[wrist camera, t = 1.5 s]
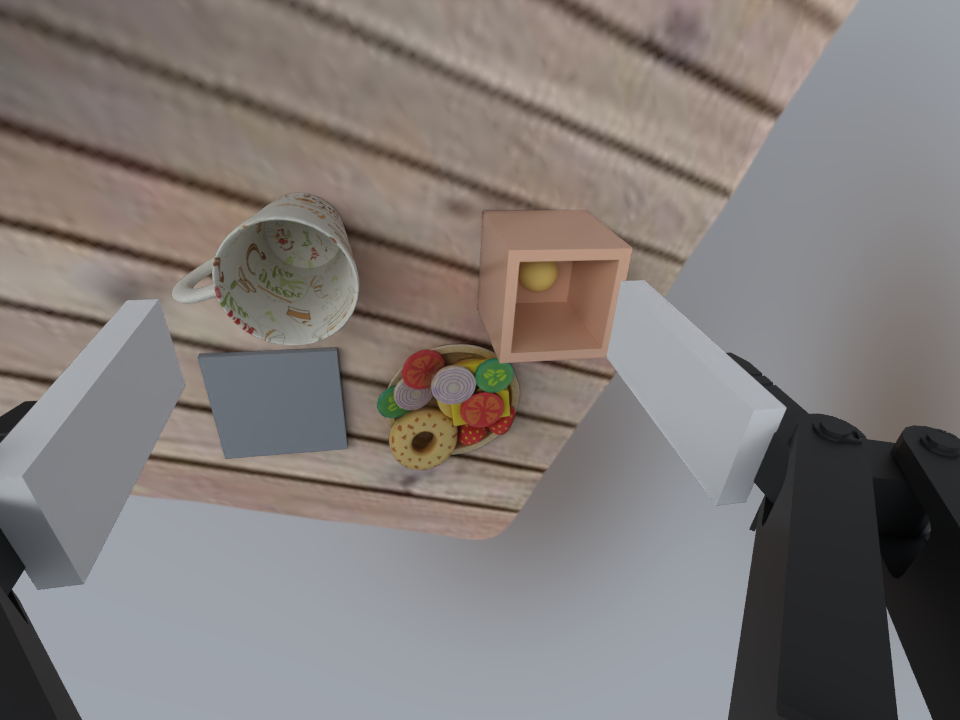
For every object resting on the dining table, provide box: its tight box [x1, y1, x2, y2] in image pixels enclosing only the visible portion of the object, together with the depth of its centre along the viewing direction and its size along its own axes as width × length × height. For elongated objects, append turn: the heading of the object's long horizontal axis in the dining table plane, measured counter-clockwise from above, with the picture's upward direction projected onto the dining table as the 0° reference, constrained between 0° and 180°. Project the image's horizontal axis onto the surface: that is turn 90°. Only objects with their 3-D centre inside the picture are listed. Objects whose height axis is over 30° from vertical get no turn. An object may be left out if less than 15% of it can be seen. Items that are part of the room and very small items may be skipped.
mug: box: [172, 193, 359, 345], centre depth 35 cm, size 8×13×10 cm, turn 105°
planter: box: [478, 210, 633, 363], centre depth 40 cm, size 9×9×9 cm
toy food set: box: [377, 344, 520, 470], centre depth 49 cm, size 13×13×3 cm
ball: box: [518, 261, 558, 292], centre depth 42 cm, size 3×3×3 cm
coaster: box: [198, 347, 348, 459], centre depth 47 cm, size 11×11×1 cm
